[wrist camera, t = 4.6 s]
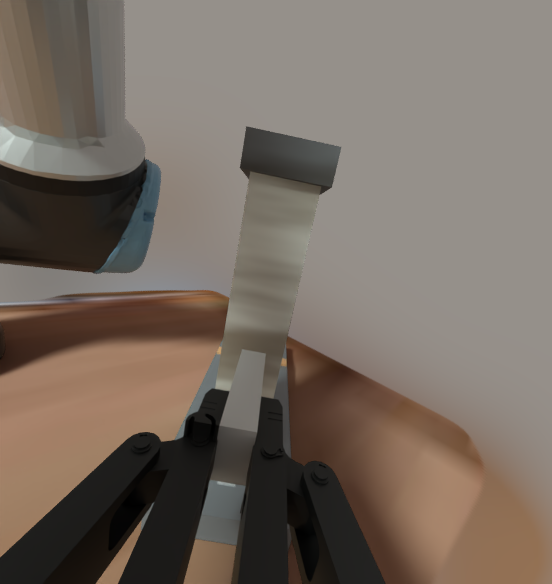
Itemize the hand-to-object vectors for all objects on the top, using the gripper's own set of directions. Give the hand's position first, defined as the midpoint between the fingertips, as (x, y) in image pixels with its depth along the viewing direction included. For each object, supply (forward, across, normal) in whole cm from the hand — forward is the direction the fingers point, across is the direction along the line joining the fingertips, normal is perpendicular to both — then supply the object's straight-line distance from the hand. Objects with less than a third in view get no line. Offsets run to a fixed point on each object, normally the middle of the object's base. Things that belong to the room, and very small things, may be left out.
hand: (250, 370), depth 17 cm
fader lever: (+3, 0, -8) cm, 8 cm away
